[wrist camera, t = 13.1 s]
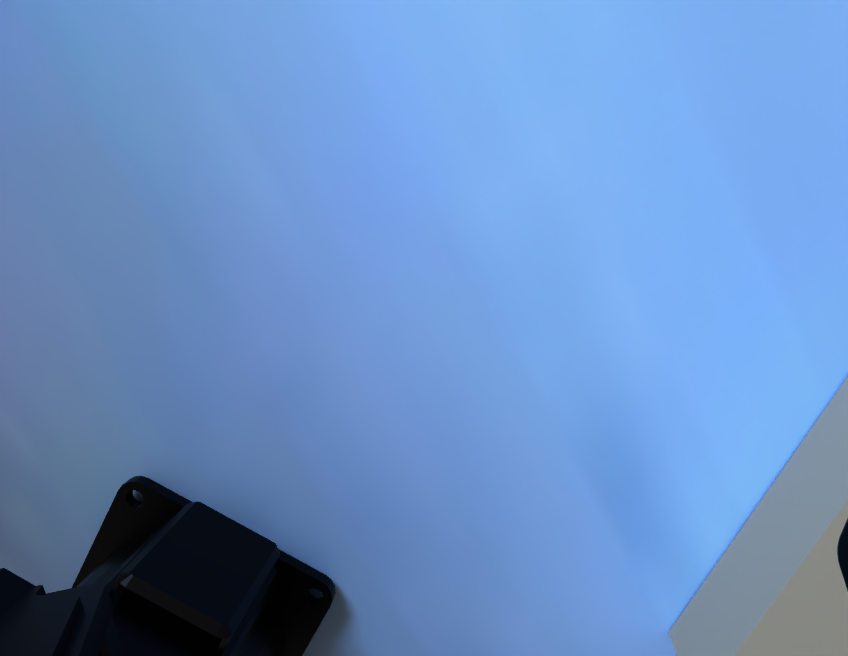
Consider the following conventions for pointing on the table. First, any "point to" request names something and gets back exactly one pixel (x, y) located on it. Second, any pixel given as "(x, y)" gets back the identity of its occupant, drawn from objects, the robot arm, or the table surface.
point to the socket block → (782, 561)
